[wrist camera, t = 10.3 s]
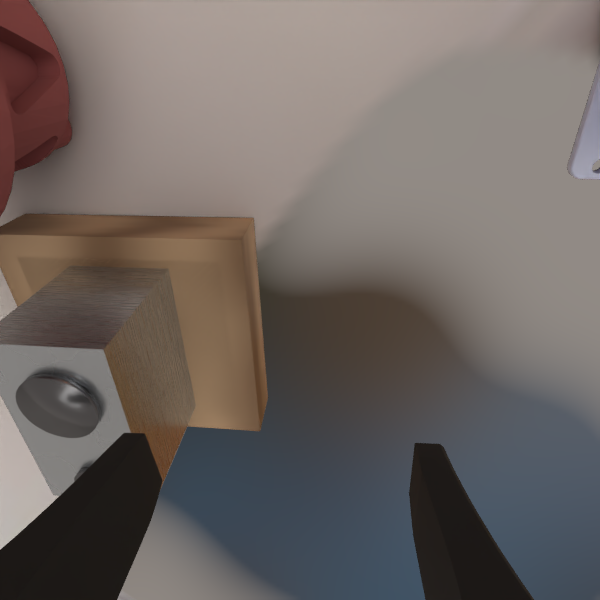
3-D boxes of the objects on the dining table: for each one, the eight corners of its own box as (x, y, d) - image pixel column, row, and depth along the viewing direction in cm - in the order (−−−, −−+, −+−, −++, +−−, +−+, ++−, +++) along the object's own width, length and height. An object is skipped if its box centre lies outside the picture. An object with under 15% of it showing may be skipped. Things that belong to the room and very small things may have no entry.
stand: (253, 218, 19) (241, 240, 17) (267, 397, 24) (260, 431, 22) (24, 213, 20) (-14, 234, 18) (89, 386, 25) (66, 418, 23)
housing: (196, 405, 22) (151, 510, 17) (115, 400, 22) (49, 501, 17) (168, 268, 18) (98, 355, 13) (70, 265, 18) (-35, 348, 13)
